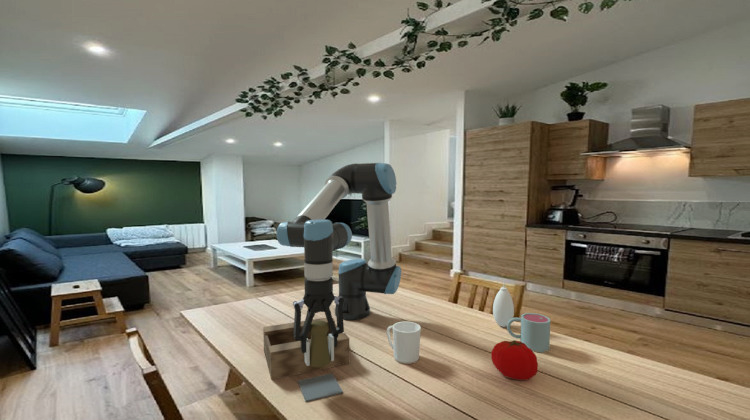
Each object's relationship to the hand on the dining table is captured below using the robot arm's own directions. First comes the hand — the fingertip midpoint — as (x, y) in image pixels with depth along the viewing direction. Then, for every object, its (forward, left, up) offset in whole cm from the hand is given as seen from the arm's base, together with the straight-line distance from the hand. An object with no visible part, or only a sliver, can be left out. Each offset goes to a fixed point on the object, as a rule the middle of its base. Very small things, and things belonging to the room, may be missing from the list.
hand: (319, 360), depth 96 cm
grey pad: (0, 0, -8) cm, 8 cm away
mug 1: (-29, -6, -8) cm, 31 cm away
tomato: (-54, +16, -8) cm, 57 cm away
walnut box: (0, -19, -8) cm, 21 cm away
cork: (0, 0, 0) cm, 1 cm away
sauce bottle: (-77, -13, -8) cm, 79 cm away
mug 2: (-73, +3, -8) cm, 74 cm away
